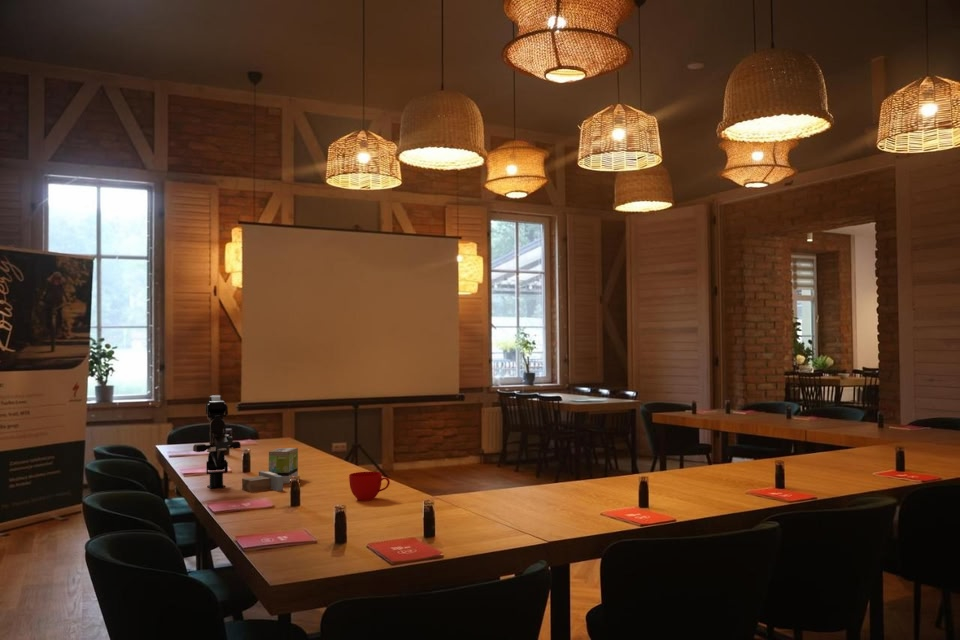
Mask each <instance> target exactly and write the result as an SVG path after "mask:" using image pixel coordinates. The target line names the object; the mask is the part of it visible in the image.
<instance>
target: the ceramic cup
mask: <svg viewBox="0 0 960 640" xmlns="http://www.w3.org/2000/svg"><path fill="white" fill-rule="evenodd" d="M348 479H349V480H348V481H349V487H350V491H351V494H353V496H354V497H355V499H357V501H361V502H367V501H373V500H374V499H375V498H376V497H377V496H378V494H379V493H380V492H382V491H385V490H386V489H388V487H389V486H390V485H391V484H390V483H391V482H390V479H389V478H388V477H387V476H386V477H383V474H382V472H380V471H358V472H352V473H350V474H349V476H348ZM383 480H386V483H387V484H386V486H384V487H383V488H381V487H382V481H383Z"/></svg>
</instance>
